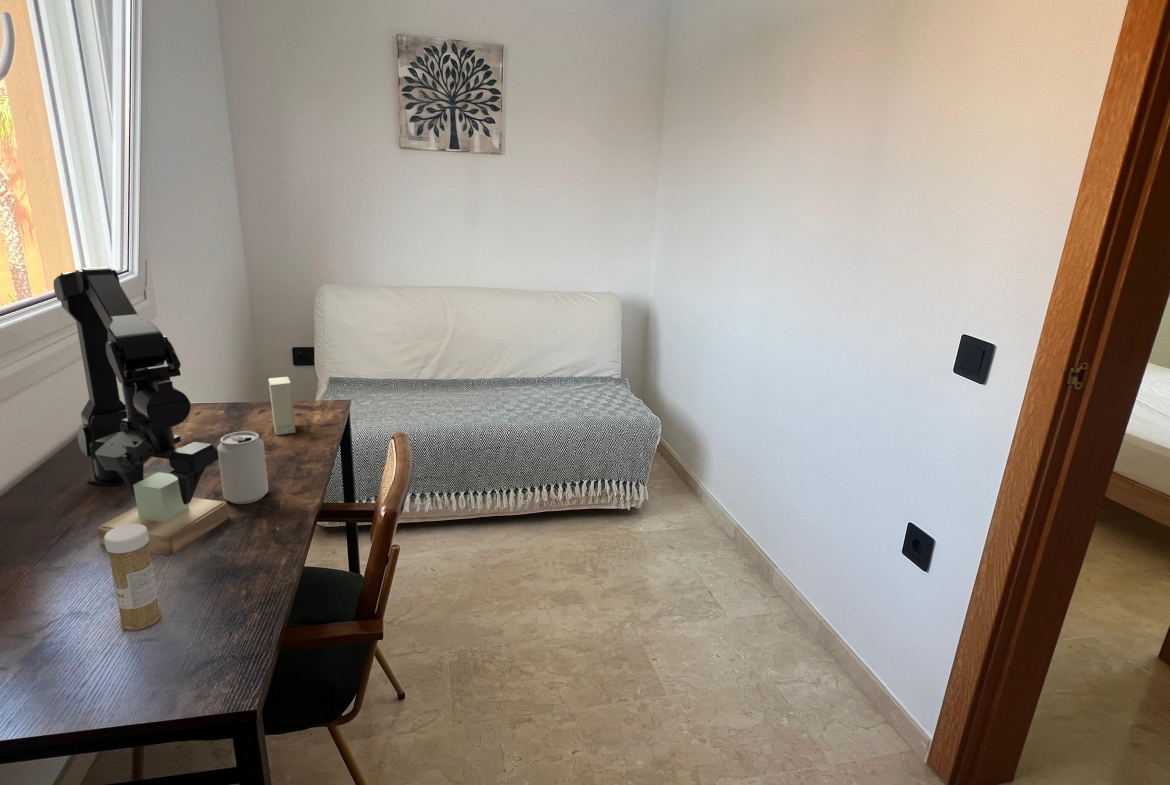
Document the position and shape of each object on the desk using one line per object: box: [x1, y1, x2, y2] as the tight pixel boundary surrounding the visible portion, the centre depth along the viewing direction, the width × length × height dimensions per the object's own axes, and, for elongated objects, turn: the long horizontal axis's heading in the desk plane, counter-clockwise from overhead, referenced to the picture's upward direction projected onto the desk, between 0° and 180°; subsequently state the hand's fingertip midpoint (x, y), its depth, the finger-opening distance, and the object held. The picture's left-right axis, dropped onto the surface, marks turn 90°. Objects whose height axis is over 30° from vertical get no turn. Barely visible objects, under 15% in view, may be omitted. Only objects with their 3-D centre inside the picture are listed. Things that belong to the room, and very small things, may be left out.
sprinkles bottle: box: [104, 524, 162, 631], centre depth 85 cm, size 5×5×13 cm
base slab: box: [96, 496, 230, 557], centre depth 109 cm, size 13×13×3 cm
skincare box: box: [268, 376, 296, 436], centre depth 153 cm, size 6×4×12 cm
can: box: [216, 430, 269, 505], centre depth 120 cm, size 8×8×12 cm
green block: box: [133, 471, 189, 523], centre depth 108 cm, size 5×5×6 cm
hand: (162, 499), depth 108 cm, fingers open, 9 cm apart
